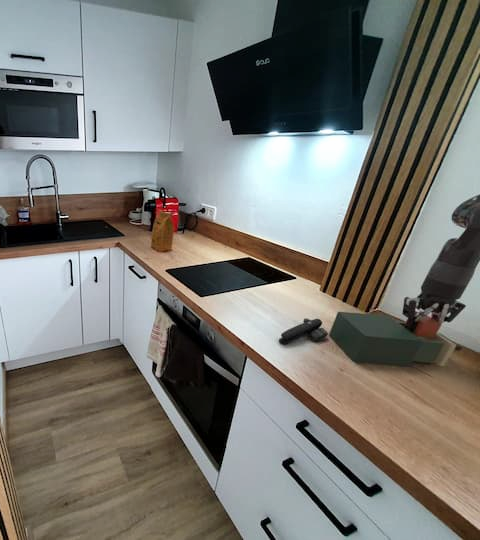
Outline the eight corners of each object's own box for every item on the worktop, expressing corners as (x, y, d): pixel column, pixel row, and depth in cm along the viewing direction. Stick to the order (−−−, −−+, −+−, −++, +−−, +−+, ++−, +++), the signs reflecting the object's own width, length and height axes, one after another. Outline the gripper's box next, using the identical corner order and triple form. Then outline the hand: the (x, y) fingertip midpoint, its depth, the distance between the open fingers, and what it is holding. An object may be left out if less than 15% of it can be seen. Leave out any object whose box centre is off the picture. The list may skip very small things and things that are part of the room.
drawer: (426, 342, 89) (437, 322, 86) (462, 368, 79) (476, 346, 76) (364, 337, 91) (373, 317, 88) (391, 361, 80) (402, 340, 77)
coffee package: (162, 244, 174) (165, 208, 165) (173, 251, 163) (178, 212, 155) (148, 246, 170) (150, 209, 161) (159, 253, 160) (162, 214, 151)
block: (420, 328, 84) (427, 315, 82) (434, 337, 80) (442, 324, 78) (403, 327, 84) (410, 313, 82) (416, 336, 80) (423, 322, 78)
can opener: (309, 327, 96) (314, 313, 94) (329, 339, 90) (335, 324, 88) (269, 337, 90) (273, 322, 88) (288, 351, 85) (293, 335, 82)
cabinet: (376, 339, 91) (388, 315, 88) (408, 367, 80) (423, 340, 76) (328, 335, 92) (337, 311, 89) (353, 362, 81) (365, 336, 77)
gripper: (430, 282, 72) (402, 337, 79) (493, 286, 71) (458, 341, 78) (406, 270, 79) (382, 322, 86) (463, 274, 78) (433, 326, 85)
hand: (418, 331), depth 82 cm, fingers closed on block, 4 cm apart
